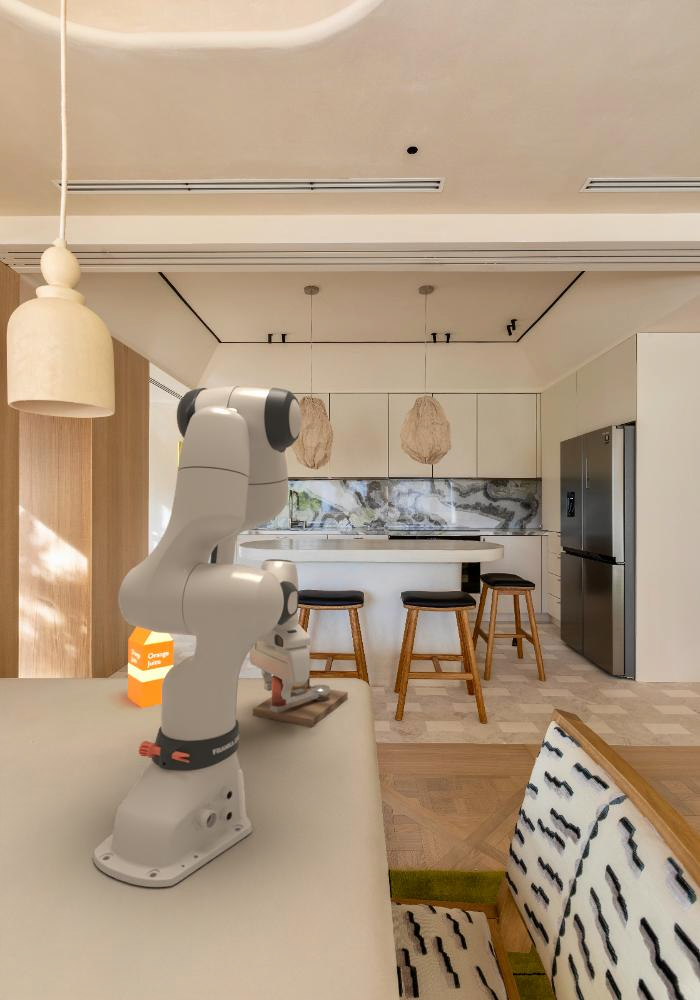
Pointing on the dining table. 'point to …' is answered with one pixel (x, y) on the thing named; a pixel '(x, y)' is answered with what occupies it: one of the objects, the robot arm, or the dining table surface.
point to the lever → (295, 695)
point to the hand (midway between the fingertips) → (277, 694)
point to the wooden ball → (300, 686)
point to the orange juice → (148, 665)
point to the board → (303, 708)
